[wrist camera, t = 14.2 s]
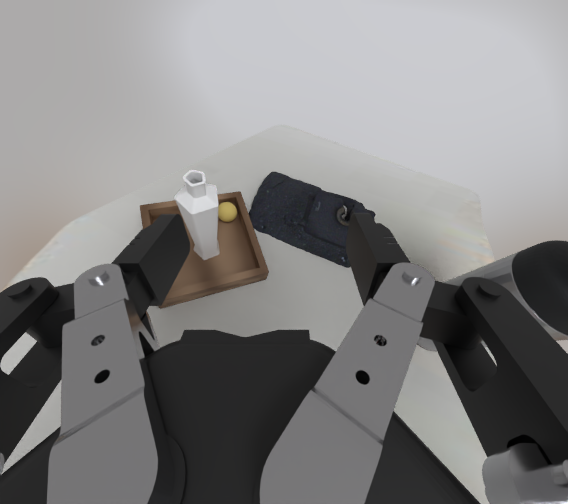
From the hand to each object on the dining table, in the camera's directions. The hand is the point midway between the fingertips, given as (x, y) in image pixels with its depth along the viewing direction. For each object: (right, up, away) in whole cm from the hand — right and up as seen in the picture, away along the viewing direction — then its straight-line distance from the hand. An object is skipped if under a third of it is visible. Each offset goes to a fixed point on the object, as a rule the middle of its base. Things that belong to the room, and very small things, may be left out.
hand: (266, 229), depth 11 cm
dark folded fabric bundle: (+6, +5, +33) cm, 34 cm away
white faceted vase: (-11, 0, +25) cm, 27 cm away
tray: (-11, 0, +25) cm, 27 cm away
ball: (-9, +5, +28) cm, 29 cm away
